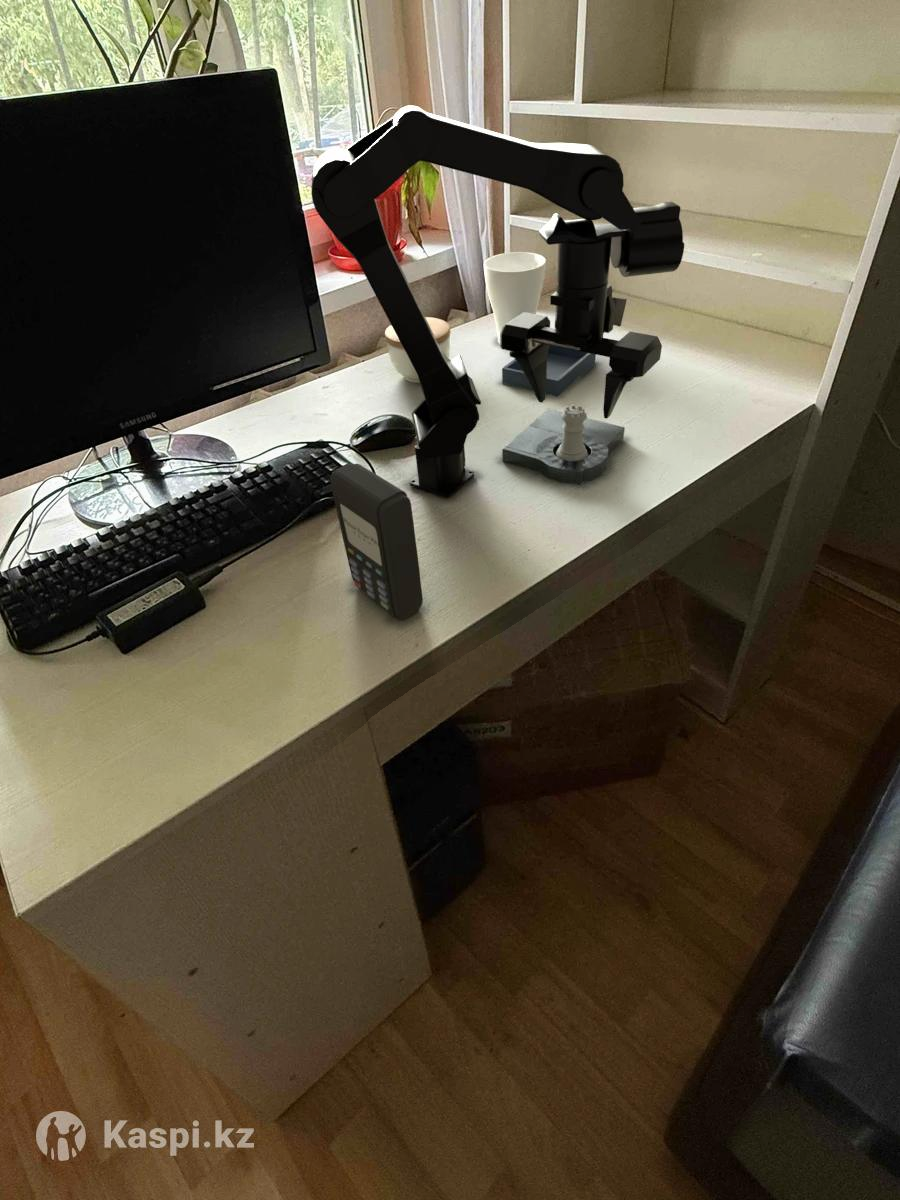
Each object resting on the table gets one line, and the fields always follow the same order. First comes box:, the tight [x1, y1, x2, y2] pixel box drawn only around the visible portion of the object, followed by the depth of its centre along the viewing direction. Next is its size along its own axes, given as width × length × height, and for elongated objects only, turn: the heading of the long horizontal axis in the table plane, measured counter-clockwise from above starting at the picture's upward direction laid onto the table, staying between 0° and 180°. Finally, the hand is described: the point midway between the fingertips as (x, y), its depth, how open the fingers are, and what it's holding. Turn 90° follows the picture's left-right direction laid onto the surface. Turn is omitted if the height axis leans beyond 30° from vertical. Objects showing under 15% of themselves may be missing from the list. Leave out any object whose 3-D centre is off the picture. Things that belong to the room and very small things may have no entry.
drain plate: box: [501, 408, 626, 486], centre depth 94 cm, size 14×13×2 cm
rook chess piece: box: [556, 404, 588, 461], centre depth 90 cm, size 4×4×8 cm
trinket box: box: [384, 316, 452, 384], centre depth 113 cm, size 11×11×9 cm
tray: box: [501, 345, 597, 397], centre depth 112 cm, size 13×10×3 cm
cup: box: [483, 251, 547, 344], centre depth 119 cm, size 10×10×14 cm
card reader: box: [330, 462, 423, 620], centre depth 70 cm, size 9×4×15 cm, turn 42°
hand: (573, 408), depth 87 cm, fingers open, 9 cm apart
